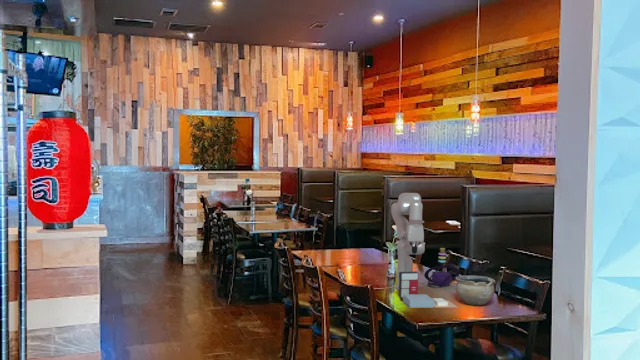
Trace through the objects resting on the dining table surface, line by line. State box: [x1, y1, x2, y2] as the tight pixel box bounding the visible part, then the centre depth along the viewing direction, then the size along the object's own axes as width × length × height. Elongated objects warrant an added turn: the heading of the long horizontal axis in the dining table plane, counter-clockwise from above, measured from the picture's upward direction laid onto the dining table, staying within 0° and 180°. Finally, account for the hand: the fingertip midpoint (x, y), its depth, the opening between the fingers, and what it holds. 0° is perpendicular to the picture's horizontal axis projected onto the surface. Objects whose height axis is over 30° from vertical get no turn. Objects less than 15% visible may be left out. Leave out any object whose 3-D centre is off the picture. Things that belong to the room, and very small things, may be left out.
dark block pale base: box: [398, 271, 419, 299], centre depth 337 cm, size 11×4×15 cm, turn 101°
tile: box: [431, 297, 448, 306], centre depth 322 cm, size 9×6×2 cm, turn 7°
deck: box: [402, 293, 435, 309], centre depth 320 cm, size 14×14×4 cm
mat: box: [434, 299, 458, 308], centre depth 322 cm, size 14×13×1 cm
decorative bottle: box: [423, 247, 460, 288], centre depth 370 cm, size 22×21×25 cm
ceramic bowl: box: [455, 275, 496, 306], centre depth 326 cm, size 22×22×15 cm
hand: (414, 253), depth 334 cm, fingers closed
